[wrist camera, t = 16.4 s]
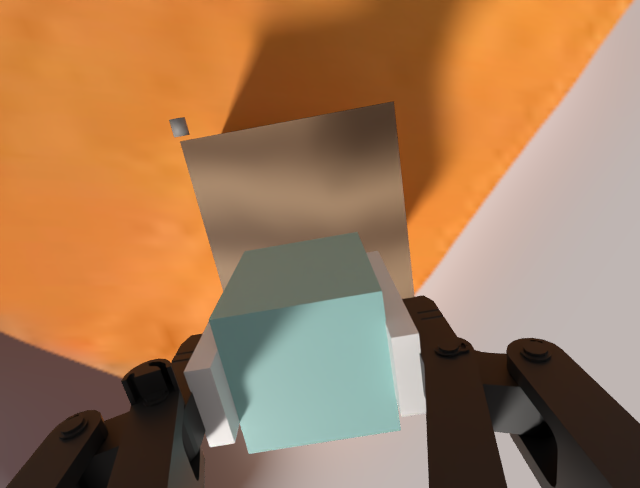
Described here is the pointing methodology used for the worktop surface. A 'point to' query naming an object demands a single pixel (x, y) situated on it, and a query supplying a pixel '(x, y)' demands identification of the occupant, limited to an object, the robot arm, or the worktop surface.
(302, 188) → the lid
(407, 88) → the worktop surface
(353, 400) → the block
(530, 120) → the worktop surface
